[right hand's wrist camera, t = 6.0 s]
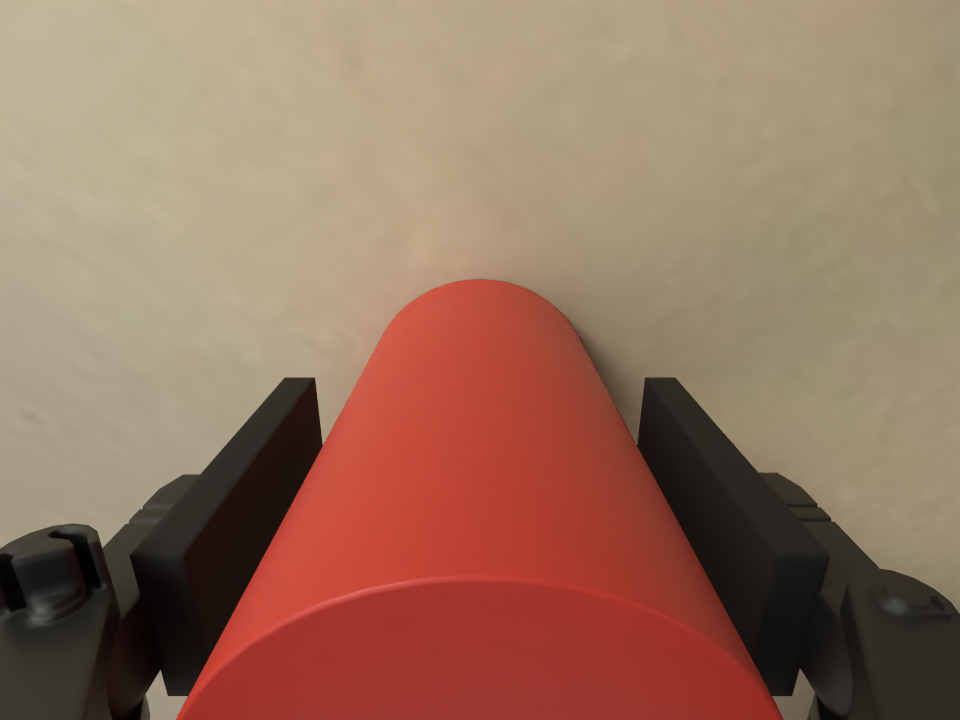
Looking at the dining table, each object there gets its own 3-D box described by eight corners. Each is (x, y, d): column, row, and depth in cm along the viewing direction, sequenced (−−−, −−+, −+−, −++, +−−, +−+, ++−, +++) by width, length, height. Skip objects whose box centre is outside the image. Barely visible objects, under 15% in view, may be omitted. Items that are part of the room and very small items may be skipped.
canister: (618, 434, 17) (856, 919, 6) (430, 506, 18) (354, 1037, 7) (539, 241, 15) (697, 468, 4) (331, 334, 16) (18, 714, 5)
